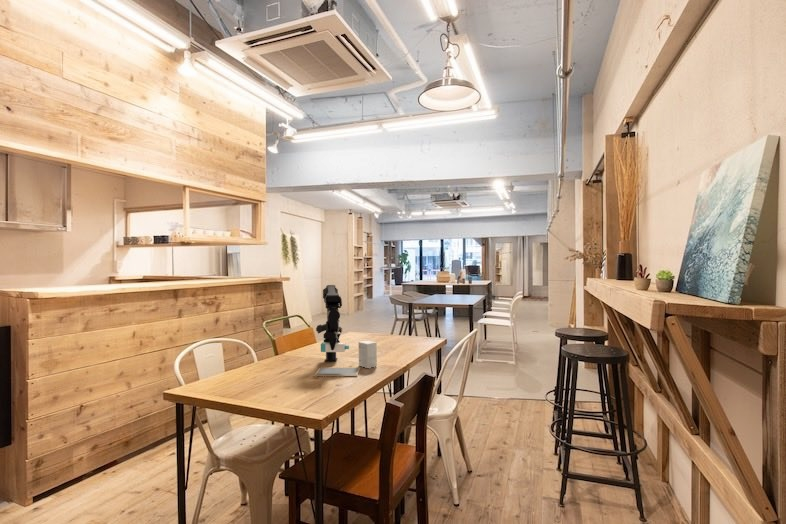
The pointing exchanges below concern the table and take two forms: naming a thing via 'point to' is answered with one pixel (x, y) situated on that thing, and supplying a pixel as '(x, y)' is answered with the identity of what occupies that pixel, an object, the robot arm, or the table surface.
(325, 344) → the marker
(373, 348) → the small box
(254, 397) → the table surface
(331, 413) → the table surface
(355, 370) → the slate board
